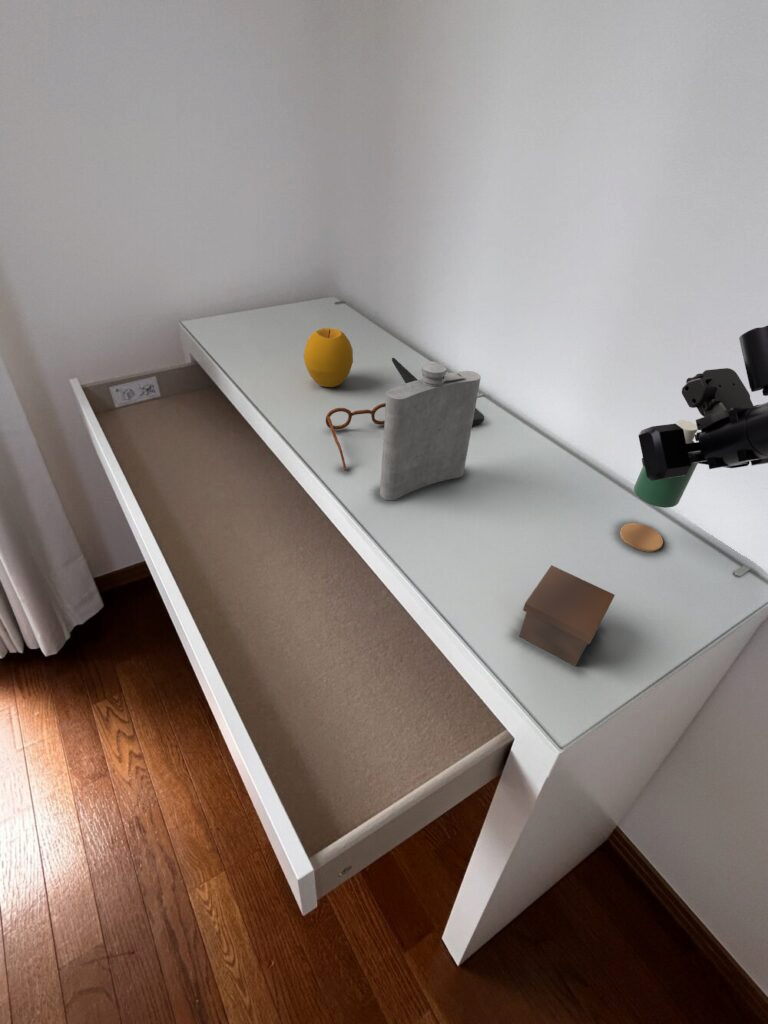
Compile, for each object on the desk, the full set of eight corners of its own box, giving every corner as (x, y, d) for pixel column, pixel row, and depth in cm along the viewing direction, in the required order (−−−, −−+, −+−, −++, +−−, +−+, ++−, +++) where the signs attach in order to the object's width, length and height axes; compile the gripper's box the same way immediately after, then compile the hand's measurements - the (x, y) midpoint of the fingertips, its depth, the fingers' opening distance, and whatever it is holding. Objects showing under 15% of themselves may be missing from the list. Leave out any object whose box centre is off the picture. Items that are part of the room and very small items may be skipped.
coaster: (663, 533, 86) (664, 531, 86) (659, 557, 82) (660, 555, 81) (623, 520, 88) (624, 518, 88) (617, 542, 84) (618, 540, 83)
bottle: (688, 501, 78) (723, 432, 71) (657, 512, 76) (689, 441, 69) (655, 477, 82) (685, 410, 75) (624, 487, 80) (652, 417, 73)
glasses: (394, 423, 106) (395, 399, 103) (418, 462, 97) (420, 436, 94) (325, 431, 103) (324, 406, 100) (342, 472, 93) (343, 446, 90)
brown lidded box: (600, 627, 71) (615, 594, 67) (577, 670, 66) (592, 637, 62) (540, 597, 74) (551, 564, 70) (514, 636, 69) (524, 603, 65)
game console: (486, 424, 108) (495, 380, 102) (422, 436, 103) (427, 391, 97) (446, 387, 119) (452, 346, 113) (387, 397, 114) (389, 354, 108)
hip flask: (386, 502, 88) (396, 383, 75) (373, 488, 90) (379, 371, 78) (467, 474, 95) (488, 361, 82) (452, 462, 97) (470, 351, 85)
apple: (310, 398, 112) (309, 340, 104) (299, 376, 119) (297, 321, 111) (358, 393, 115) (360, 336, 107) (344, 372, 122) (345, 317, 114)
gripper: (814, 352, 65) (706, 395, 80) (681, 365, 60) (591, 408, 75) (837, 448, 64) (722, 473, 79) (703, 468, 59) (608, 491, 74)
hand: (662, 459), depth 77 cm, fingers closed on bottle, 6 cm apart
